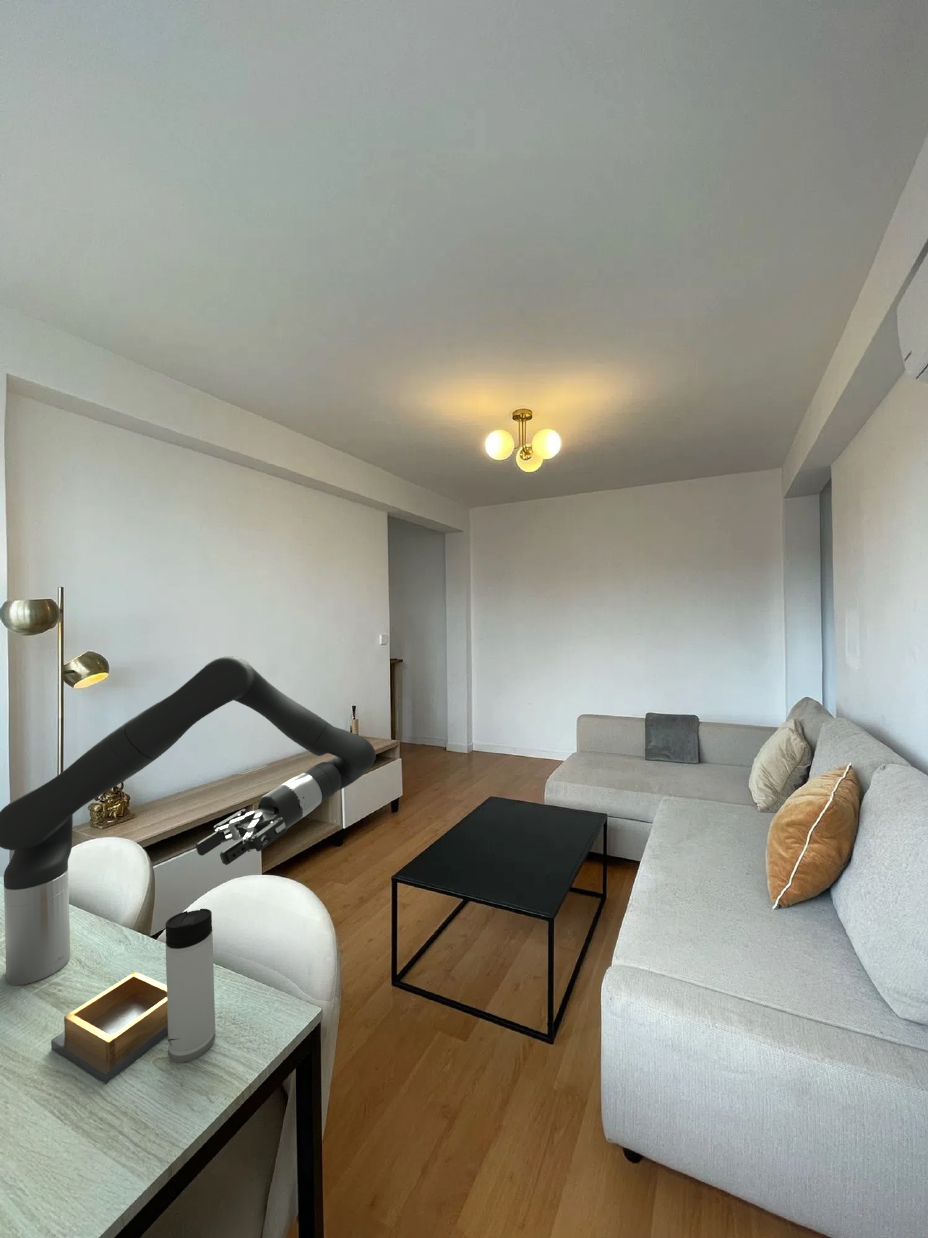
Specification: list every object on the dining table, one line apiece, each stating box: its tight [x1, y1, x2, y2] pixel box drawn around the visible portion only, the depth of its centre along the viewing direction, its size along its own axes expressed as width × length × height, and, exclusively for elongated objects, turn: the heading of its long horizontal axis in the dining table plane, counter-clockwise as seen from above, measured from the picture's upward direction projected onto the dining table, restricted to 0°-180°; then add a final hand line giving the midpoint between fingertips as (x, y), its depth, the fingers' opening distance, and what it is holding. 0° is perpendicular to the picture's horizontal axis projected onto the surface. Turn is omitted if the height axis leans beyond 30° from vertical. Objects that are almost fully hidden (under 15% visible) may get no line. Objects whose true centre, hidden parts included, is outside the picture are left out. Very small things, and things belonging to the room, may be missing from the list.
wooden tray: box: [50, 971, 168, 1085], centre depth 78 cm, size 14×13×4 cm
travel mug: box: [165, 908, 216, 1063], centre depth 75 cm, size 6×7×20 cm
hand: (209, 855), depth 82 cm, fingers open, 8 cm apart
